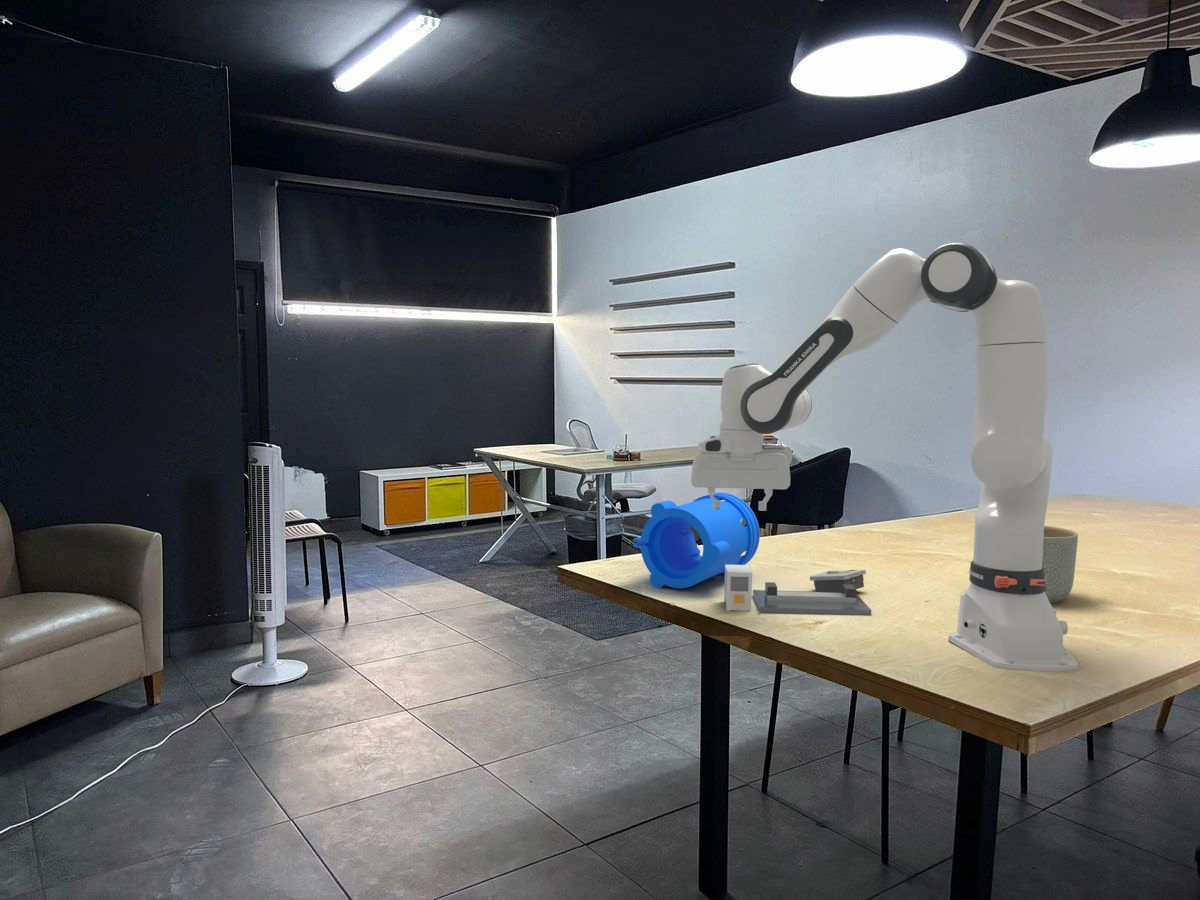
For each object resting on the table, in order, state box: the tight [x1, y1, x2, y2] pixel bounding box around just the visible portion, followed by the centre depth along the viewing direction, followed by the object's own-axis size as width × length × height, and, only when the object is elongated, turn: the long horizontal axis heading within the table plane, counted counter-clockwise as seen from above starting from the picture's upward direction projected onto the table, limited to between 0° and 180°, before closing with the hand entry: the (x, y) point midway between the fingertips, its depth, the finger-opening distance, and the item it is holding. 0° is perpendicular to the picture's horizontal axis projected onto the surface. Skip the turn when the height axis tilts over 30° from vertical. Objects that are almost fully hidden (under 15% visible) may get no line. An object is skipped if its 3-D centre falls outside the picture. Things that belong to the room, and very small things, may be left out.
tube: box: [632, 492, 761, 589], centre depth 201 cm, size 25×22×19 cm
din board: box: [752, 581, 872, 616], centre depth 179 cm, size 14×22×4 cm, turn 86°
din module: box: [723, 564, 753, 611], centre depth 178 cm, size 8×5×8 cm, turn 176°
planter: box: [1042, 525, 1079, 605], centre depth 186 cm, size 17×17×15 cm
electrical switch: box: [809, 569, 867, 592], centre depth 190 cm, size 9×5×9 cm
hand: (739, 509), depth 177 cm, fingers open, 8 cm apart
